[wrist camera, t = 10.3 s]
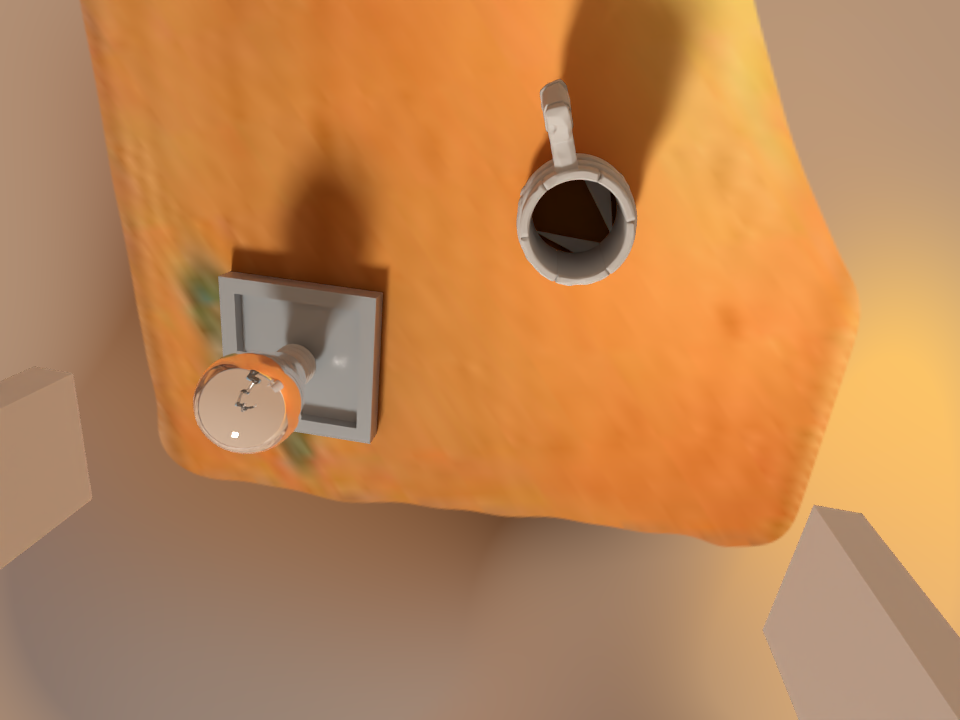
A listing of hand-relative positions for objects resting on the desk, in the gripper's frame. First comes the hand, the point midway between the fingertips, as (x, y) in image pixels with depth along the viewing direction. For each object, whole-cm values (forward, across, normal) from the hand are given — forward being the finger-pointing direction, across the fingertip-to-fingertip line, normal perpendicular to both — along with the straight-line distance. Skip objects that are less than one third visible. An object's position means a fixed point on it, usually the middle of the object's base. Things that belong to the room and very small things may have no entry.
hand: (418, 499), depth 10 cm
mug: (+34, +2, +4) cm, 34 cm away
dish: (+34, -16, -13) cm, 40 cm away
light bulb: (+33, -16, -13) cm, 39 cm away
